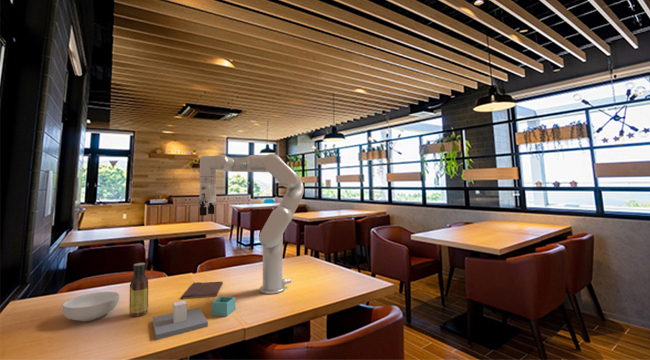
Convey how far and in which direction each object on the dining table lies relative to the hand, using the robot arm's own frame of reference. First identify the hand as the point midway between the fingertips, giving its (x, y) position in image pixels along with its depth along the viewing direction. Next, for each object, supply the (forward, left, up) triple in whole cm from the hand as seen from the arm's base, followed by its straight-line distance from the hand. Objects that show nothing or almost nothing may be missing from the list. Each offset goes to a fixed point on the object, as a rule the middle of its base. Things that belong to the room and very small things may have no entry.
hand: (207, 214), depth 140 cm
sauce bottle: (+28, +13, -37) cm, 49 cm away
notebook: (+1, -1, -38) cm, 38 cm away
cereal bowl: (+43, +5, -38) cm, 57 cm away
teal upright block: (0, +31, -37) cm, 49 cm away
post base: (+16, +32, -37) cm, 52 cm away
